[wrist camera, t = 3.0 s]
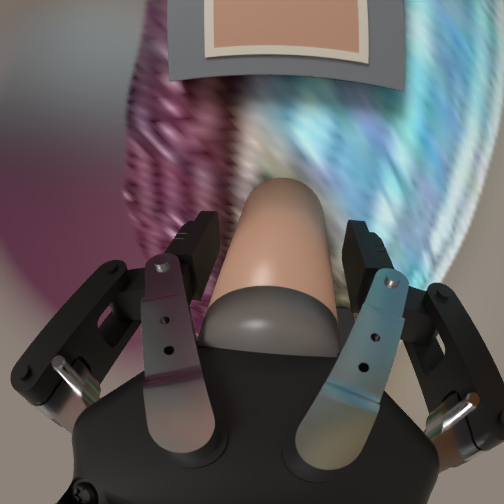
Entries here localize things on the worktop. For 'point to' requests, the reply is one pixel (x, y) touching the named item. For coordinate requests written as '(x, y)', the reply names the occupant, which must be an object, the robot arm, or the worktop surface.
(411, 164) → the worktop surface
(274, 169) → the worktop surface
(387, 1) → the picture board
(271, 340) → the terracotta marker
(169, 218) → the worktop surface
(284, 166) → the worktop surface
